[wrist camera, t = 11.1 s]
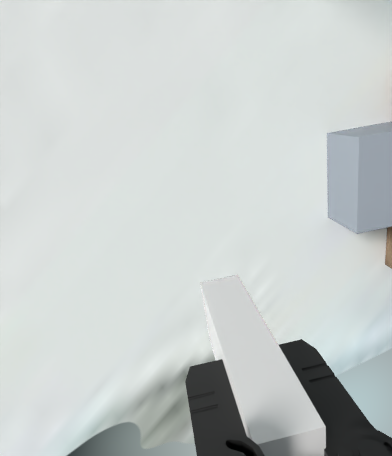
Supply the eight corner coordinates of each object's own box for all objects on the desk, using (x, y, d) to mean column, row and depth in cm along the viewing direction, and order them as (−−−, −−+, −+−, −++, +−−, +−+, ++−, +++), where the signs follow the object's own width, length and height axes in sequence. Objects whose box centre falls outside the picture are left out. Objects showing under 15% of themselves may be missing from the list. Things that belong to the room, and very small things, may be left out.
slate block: (326, 133, 37) (359, 137, 31) (392, 121, 37) (435, 122, 32) (327, 216, 40) (356, 233, 35) (387, 204, 41) (426, 219, 35)
